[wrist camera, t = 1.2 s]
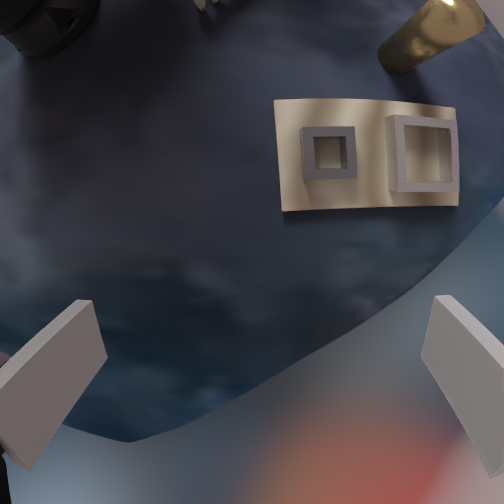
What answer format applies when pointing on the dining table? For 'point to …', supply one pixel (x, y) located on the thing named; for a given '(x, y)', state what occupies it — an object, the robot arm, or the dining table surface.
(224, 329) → the dining table surface
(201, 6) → the caliper
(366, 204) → the fitting board
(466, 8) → the brass cylinder
